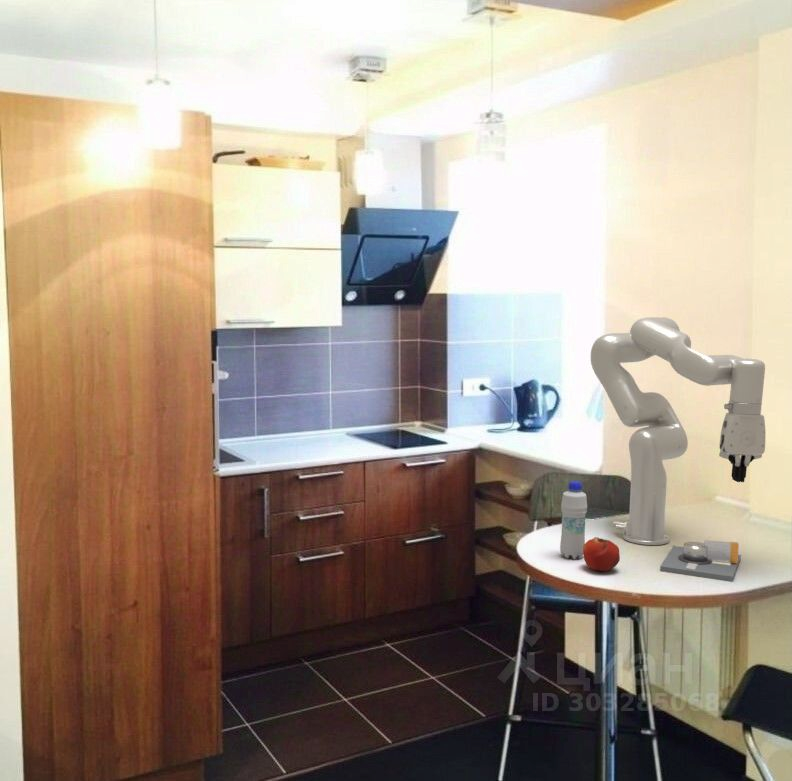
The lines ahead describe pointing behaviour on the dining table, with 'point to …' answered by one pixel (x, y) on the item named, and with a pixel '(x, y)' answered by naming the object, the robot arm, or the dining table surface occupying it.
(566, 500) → the bottle
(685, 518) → the dining table surface
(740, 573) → the dining table surface
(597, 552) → the tomato
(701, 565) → the panel
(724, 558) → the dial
